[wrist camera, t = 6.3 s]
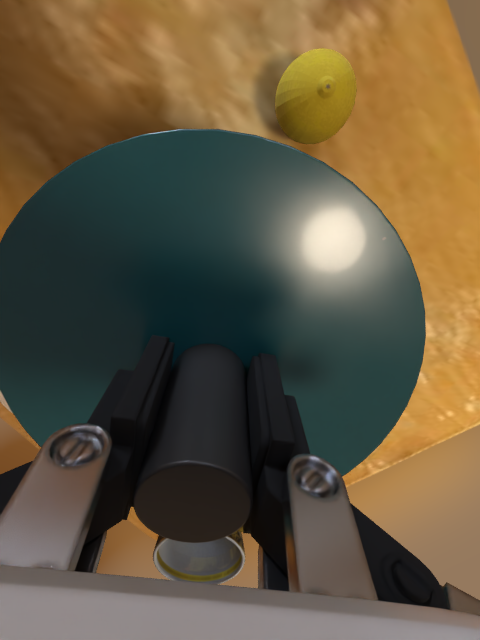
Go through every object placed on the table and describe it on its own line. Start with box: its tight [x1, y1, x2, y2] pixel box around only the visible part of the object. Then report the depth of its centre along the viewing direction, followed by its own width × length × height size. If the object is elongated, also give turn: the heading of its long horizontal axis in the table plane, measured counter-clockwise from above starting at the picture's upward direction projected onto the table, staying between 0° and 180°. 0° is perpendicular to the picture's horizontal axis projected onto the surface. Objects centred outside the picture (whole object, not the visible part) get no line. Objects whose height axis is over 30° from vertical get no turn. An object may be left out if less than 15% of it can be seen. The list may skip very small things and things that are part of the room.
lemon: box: [275, 48, 356, 144], centre depth 23 cm, size 6×6×8 cm
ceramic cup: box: [153, 526, 245, 585], centre depth 39 cm, size 13×10×10 cm
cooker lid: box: [0, 129, 426, 543], centre depth 10 cm, size 15×15×6 cm
